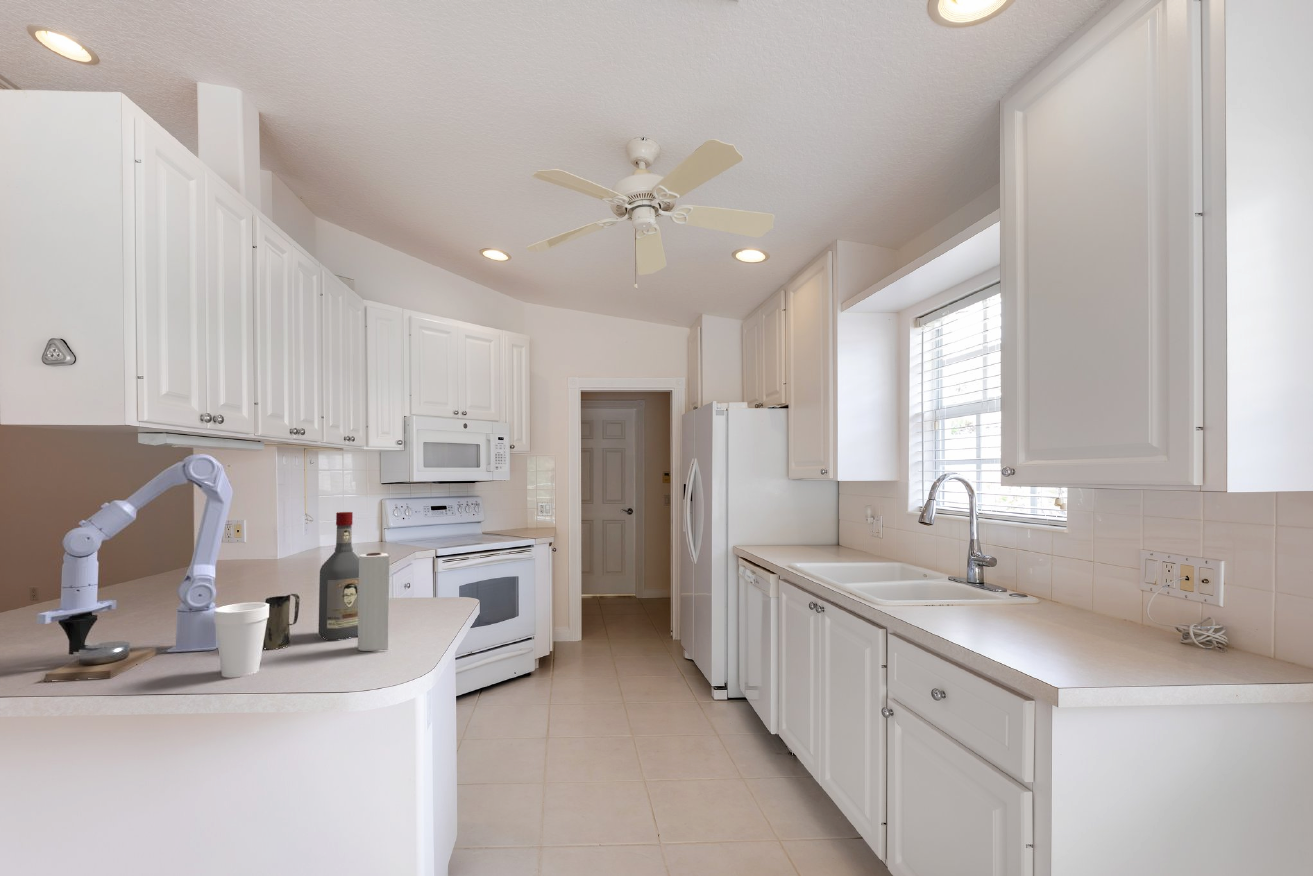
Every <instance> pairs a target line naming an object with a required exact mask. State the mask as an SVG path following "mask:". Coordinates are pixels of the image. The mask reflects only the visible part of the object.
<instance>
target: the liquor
mask: <svg viewBox="0 0 1313 876" xmlns="http://www.w3.org/2000/svg"><path fill="white" fill-rule="evenodd" d="M353 513H354V512H352V511H342V512H340V511H338V512H336V513H335V514H336V515H335V520H336V521H335V522H336V523H335V526H336V534H335V535H336V538H335V539H336V541H335V548H334V552H333V553H332V554H331V555H330V557H328V559H327V560H326V561H325V562H324V563H323V564H322V565H321V567H320V569H319V583H318V584H319V589H318V591H319V592H318V635H319V636H321V637H320V638H322V637H324V638H325V640H326V639H327V640H326V641H339V640H338V639H343V640H347V639H346V638H349V637H354V638H358V637H357V636H358V596H359V555H357V554H356V553H355V552H354V551H353V550H354V548H353V546H352V545H353V542H352V537H353V536H352V535H353V532H352V529H353V526H352V525H353V517H354V516H353ZM324 638H323V639H324ZM349 639H350V638H349Z"/></svg>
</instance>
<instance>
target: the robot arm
mask: <svg viewBox="0 0 1313 876" xmlns="http://www.w3.org/2000/svg"><path fill="white" fill-rule="evenodd" d="M188 481H189V482H190V483H192V484H194V485H196V486H197V487H198V489H200V490H201V492H202V493H203V494H204V495H205V496H206V499H205V504H204V507H203V513H202V516H201V520H200V524H199V528H198V533H197V535H196V536H197V537H196V540H195V545H194V549H193V553H192V558H191V561H190V564H189V567H188V568H187V570H186V574H185V577H184V578H183V580H182V581H181V582H180V584H179V585H178V586H177V590H176V592H177V593H176V594H177V596H178V598H179V600H180V601H181V603H180V604H179V606H177V607H176V622H175V623H176V627H175V630H176V631H175V645H174V646H173V647H171V648H169V649H167V650H166V652H167V653H179V652H180V653H182V652H198V651H199V652H202V651H203V652H204V651H214V650H216V649H218V641H217V633H216V625H215V623H214V611H215V609H216V608H219V606H216V603H215V602H214V601H215V599H216V597H217V589H216V586H215V580H216V566H217V561H218V557H219V553H220V548H221V544H222V541H223V536H224V533H225V532H224V531H225V528H226V523H227V519H228V515H229V511H230V506H231V503H232V498H233V495H234V493H233V488H232V486H231V483H230V481H229V479H228V477H227V474H226V473H225V469H224V466H223V465H222V464H221V463H220V462H219V461H218V460H217V459H215V458H214V457H213V456H211V455H210V454H209V455H208V454H205V453H200V454H191V455H188V456H186V457H185V458H184V459H183V460H182V461H178V462H176V463H175V464H173V465H171V466H169V467H167V468H166V469H164V470H162V471H161V472H160V473H159V474H158V475H156V476H155V477H153V478H152V479H151V480H150V481H148V482H147V483H146V484H144V485H143V486H142V487H140V488H139V489H138V490H136V491H135V492H134V493H133V494H131V495H130V496H129V497H127V498H126V499H124V500H118V499H117V500H112V501H111V502H110V503H108V502H104V503H103V504H101V506H100V508H101V509H100V510H98V511H96V513H94V514H93V515H91V516H90V517H89V518H87V519H85V520H84V519H82V520H80V521H79V522H78V525H79V526H81V527H76V528H73V529H71V530H70V531H68V532H66V534H65V536H64V538H63V540H62V541H61V544H62V547H63V548H64V550H65V552H64V555H63V557H62V559H63V560H62V561H63V564H62V566H61V567H62V568H61V585H60V586H61V589H60V590H61V591H60V606H58V608H56V609H55V608H54V609H52V610H48V611H45V612H41V613H37V614H36V616H37V617H36V624H37V625H47V624H50V623H54V622H58V624H59V625H60V627H61V628H62V629H63V631H64V633H65V635H66V637H67V639H68V649H69V648H70V652H79V649H80V648H83V647H84V646H85V641H86V640H87V637H88V635H89V633H90V631H91V629H92V628H93V626H94V624H95V623H96V622H97V621H98V614H95V613H99V612H104V611H108V610H111V611H112V610H116V609H117V599H107V600H101V601H98V591H99V590H98V588H99V587H98V585H99V561H98V551H99V549H100V548H101V546H102V542H103V541H108V540H110V539H111V538H113V537H114V536H115V535H117V534H118V533H120V532H121V531H122V530H123V529H125V528H126V527H128V526H129V525H130V524H132V523H134V522H135V520H137V513H138V512H137V511H138V510H140V509H142V508H143V507H144V506H146V505H147V504H148V503H150V502H151V501H153V500H154V499H155V498H157V497H158V496H160V495H162V494H163V493H164V492H165V491H167V490H168V489H170V488H172V487H174V486H179V485H180V486H181V485H185V484H188V483H189V482H188Z"/></svg>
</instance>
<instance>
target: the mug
mask: <svg viewBox="0 0 1313 876" xmlns="http://www.w3.org/2000/svg"><path fill="white" fill-rule="evenodd" d="M291 596H292V597H294V599H295V600H294V603H295V604H294V616H293V617H294V618H293V622H292V623H290V606H291ZM264 603H267V604H269V618H267V624H266V630H265V636H264V642H263V648H266V649H276V648H282V649H284V648H283V647H286V646H289V645H290V644H292V643H291V635H290V634H291V633H290V630H291V629H290V626H292V625H295V624H297V622H298V619H299V611H300V596H299V595H298V594H297V593H291V594H287V595H279V596H278V595H276V596H270V597H267V598H265V602H264ZM290 646H291V645H290ZM290 646H289V647H290ZM263 648H262V649H263ZM286 648H287V647H286ZM276 650H277V649H276Z"/></svg>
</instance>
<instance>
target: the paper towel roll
mask: <svg viewBox="0 0 1313 876" xmlns="http://www.w3.org/2000/svg"><path fill="white" fill-rule="evenodd" d="M358 558H359V596H358V637H357V650H358V651H360V652H361V651H364V652H375V651H377V652H378V651H388V650H389V625H390V624H389V614H390V611H389V609H390V607H389V605H390V562H391V561H390V560H391V559H390V555H389V554H388V553H387V552H386V553H385V552H369V553H362V554H359V555H358Z"/></svg>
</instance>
